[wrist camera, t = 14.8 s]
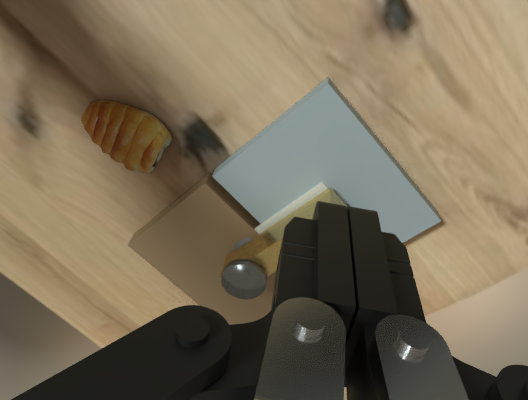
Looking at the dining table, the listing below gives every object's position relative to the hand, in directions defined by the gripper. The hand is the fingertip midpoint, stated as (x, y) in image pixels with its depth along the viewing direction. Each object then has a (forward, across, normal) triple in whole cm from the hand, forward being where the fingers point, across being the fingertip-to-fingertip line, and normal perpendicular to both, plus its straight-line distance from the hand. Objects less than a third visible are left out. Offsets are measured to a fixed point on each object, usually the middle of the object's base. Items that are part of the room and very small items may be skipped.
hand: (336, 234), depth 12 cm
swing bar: (+32, 0, +23) cm, 40 cm away
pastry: (+36, +18, +16) cm, 43 cm away
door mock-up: (+35, +1, +25) cm, 43 cm away
